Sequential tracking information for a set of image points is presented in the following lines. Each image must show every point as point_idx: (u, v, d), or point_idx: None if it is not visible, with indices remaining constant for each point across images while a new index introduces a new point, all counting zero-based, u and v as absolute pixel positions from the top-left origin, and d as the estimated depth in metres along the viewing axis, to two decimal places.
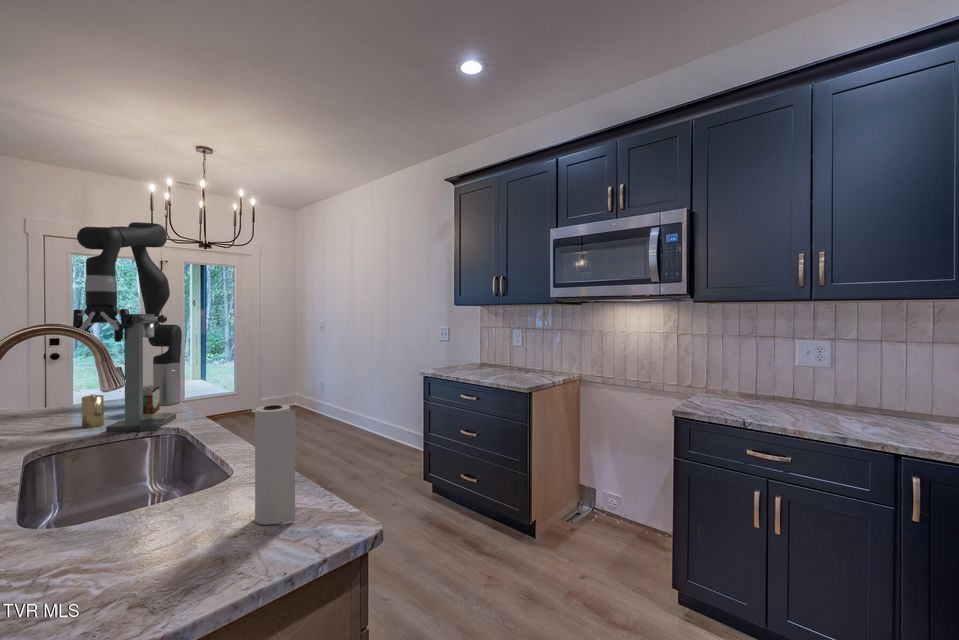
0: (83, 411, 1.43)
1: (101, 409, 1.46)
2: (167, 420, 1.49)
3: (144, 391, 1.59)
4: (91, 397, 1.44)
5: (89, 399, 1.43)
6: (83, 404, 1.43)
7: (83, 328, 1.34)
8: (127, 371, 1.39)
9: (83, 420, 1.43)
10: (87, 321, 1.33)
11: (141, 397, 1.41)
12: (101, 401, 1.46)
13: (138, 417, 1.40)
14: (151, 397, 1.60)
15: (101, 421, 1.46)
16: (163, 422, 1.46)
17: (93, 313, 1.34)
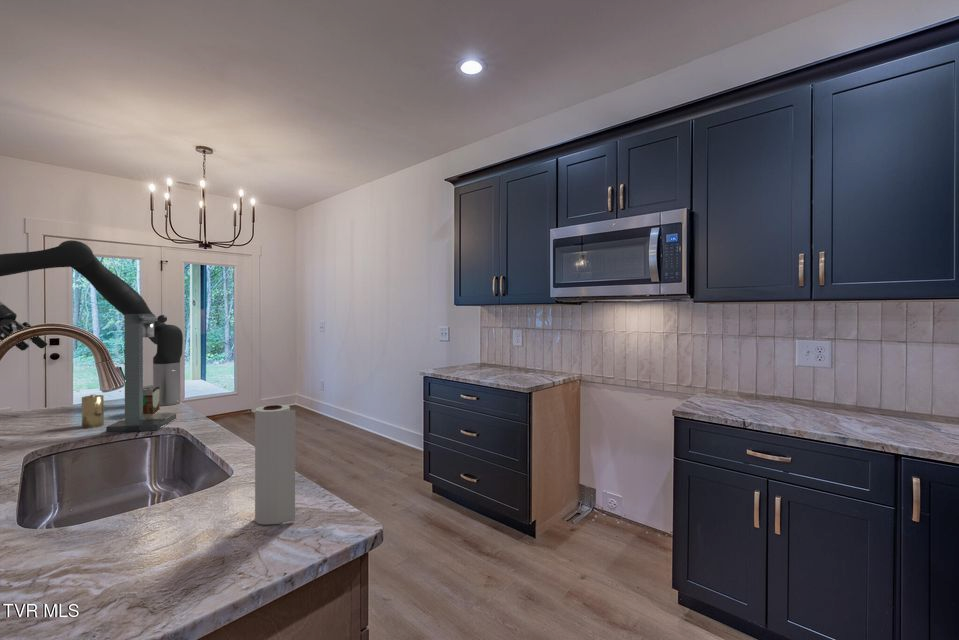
0: (83, 411, 1.43)
1: (101, 409, 1.46)
2: (167, 420, 1.49)
3: (144, 391, 1.59)
4: (91, 397, 1.44)
5: (89, 399, 1.43)
6: (83, 404, 1.43)
7: (30, 339, 1.44)
8: (127, 371, 1.39)
9: (83, 420, 1.43)
10: None
11: (141, 397, 1.41)
12: (101, 401, 1.46)
13: (138, 417, 1.40)
14: (151, 397, 1.60)
15: (101, 421, 1.46)
16: (163, 422, 1.46)
17: None
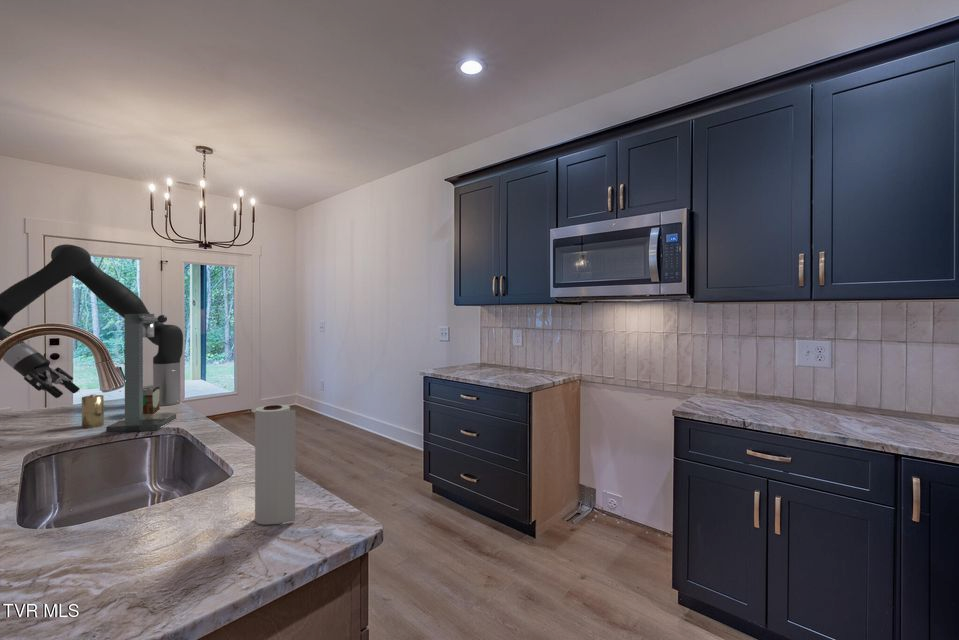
0: (83, 411, 1.43)
1: (101, 409, 1.46)
2: (167, 420, 1.49)
3: (144, 391, 1.59)
4: (91, 397, 1.44)
5: (89, 399, 1.43)
6: (83, 404, 1.43)
7: None
8: (127, 371, 1.39)
9: (83, 420, 1.43)
10: None
11: (141, 397, 1.41)
12: (101, 401, 1.46)
13: (138, 417, 1.40)
14: (151, 397, 1.60)
15: (101, 421, 1.46)
16: (163, 422, 1.46)
17: None
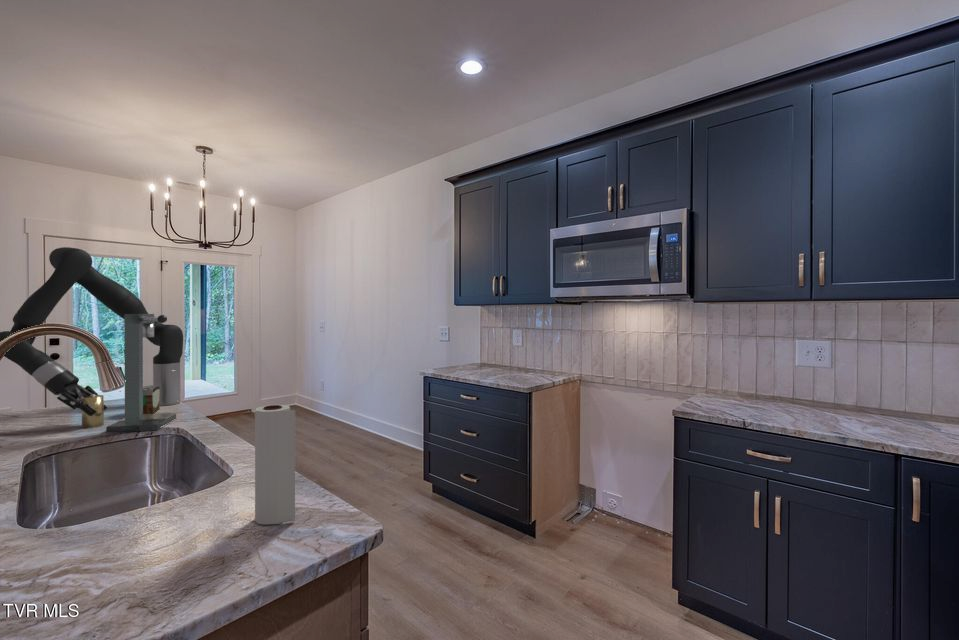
0: (83, 411, 1.43)
1: (101, 409, 1.46)
2: (167, 420, 1.49)
3: (144, 391, 1.59)
4: (91, 397, 1.44)
5: (89, 399, 1.43)
6: None
7: None
8: (127, 371, 1.39)
9: (83, 420, 1.43)
10: None
11: (141, 397, 1.41)
12: (101, 401, 1.46)
13: (138, 417, 1.40)
14: (151, 397, 1.60)
15: (101, 421, 1.46)
16: (163, 422, 1.46)
17: None
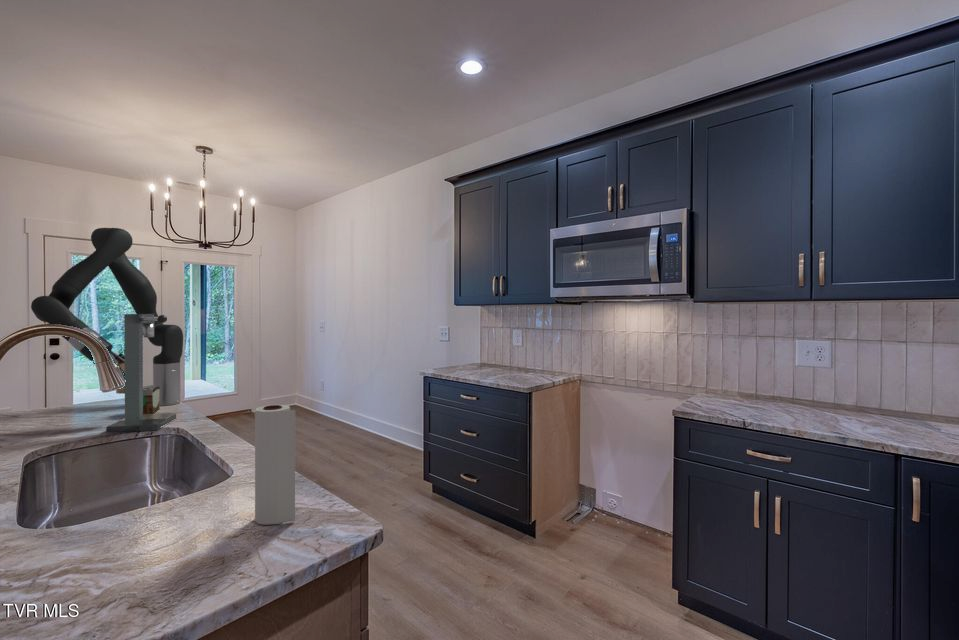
0: None
1: None
2: (167, 420, 1.49)
3: (144, 391, 1.59)
4: None
5: (123, 365, 1.45)
6: None
7: None
8: (127, 371, 1.39)
9: None
10: None
11: (141, 397, 1.41)
12: None
13: (138, 417, 1.40)
14: (151, 397, 1.60)
15: None
16: (163, 422, 1.46)
17: None
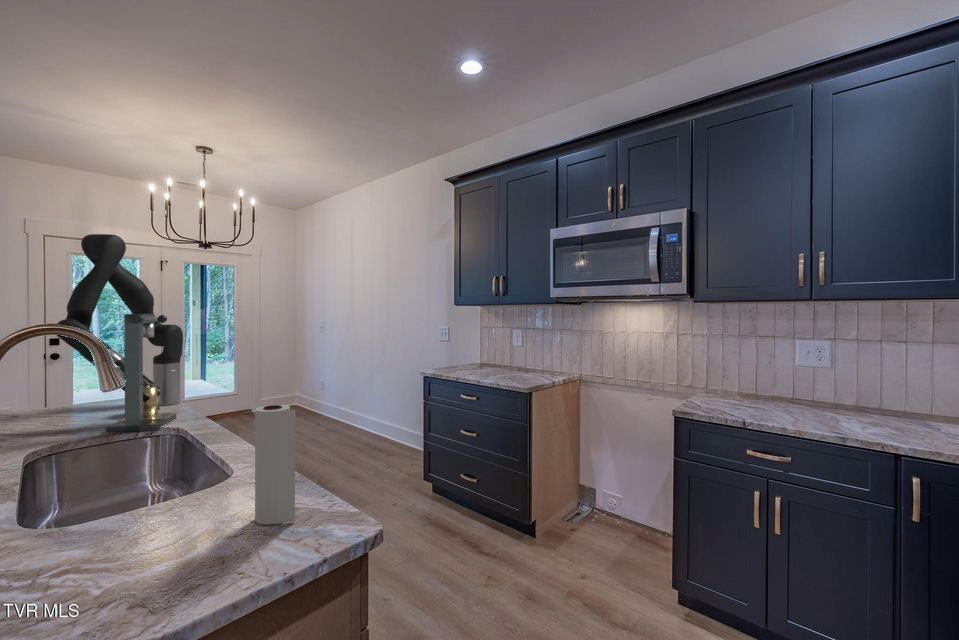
0: None
1: (155, 400, 1.50)
2: (167, 420, 1.49)
3: None
4: (146, 388, 1.48)
5: (145, 390, 1.47)
6: None
7: None
8: (127, 371, 1.39)
9: None
10: None
11: (141, 397, 1.41)
12: (155, 392, 1.50)
13: (138, 417, 1.40)
14: None
15: (156, 411, 1.50)
16: (163, 422, 1.46)
17: None
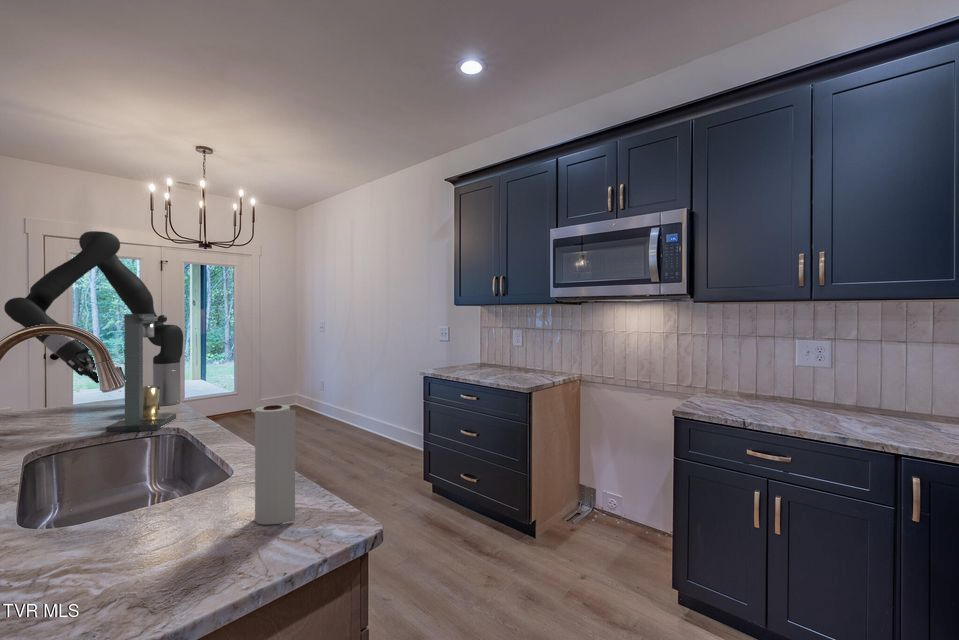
0: None
1: (156, 400, 1.50)
2: (167, 420, 1.49)
3: None
4: (146, 388, 1.48)
5: (145, 390, 1.47)
6: None
7: None
8: (127, 371, 1.39)
9: None
10: None
11: (141, 397, 1.41)
12: (155, 392, 1.50)
13: (138, 417, 1.40)
14: None
15: (156, 412, 1.50)
16: (163, 422, 1.46)
17: None
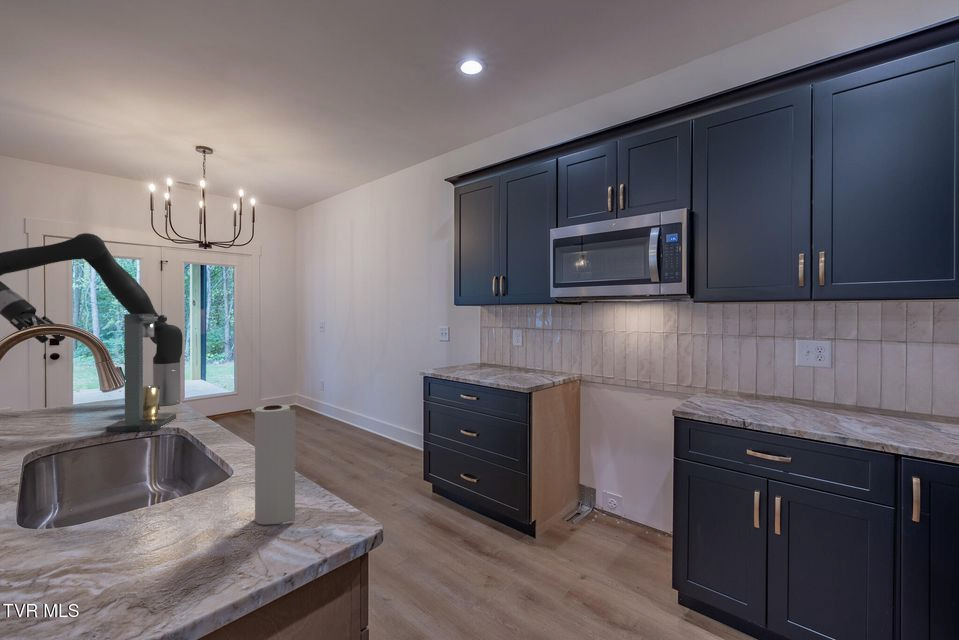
0: None
1: (156, 400, 1.50)
2: (167, 420, 1.49)
3: None
4: (147, 388, 1.48)
5: (145, 390, 1.47)
6: None
7: None
8: (127, 371, 1.39)
9: None
10: None
11: (141, 397, 1.41)
12: (156, 392, 1.50)
13: (138, 417, 1.40)
14: None
15: (156, 412, 1.50)
16: (163, 422, 1.46)
17: None
